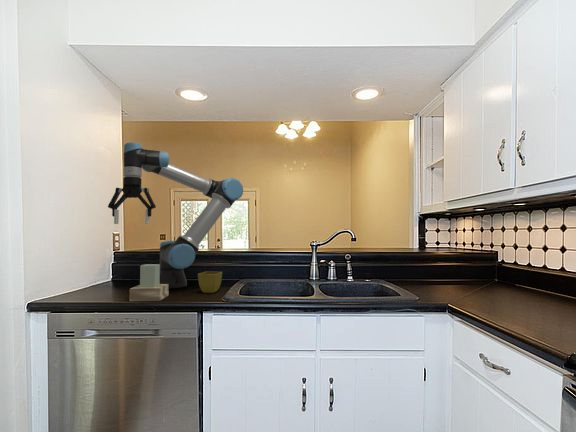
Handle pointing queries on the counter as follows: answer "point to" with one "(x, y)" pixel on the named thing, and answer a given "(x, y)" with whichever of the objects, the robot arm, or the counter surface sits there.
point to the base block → (149, 293)
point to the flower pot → (209, 281)
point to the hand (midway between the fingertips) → (131, 224)
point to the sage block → (149, 275)
